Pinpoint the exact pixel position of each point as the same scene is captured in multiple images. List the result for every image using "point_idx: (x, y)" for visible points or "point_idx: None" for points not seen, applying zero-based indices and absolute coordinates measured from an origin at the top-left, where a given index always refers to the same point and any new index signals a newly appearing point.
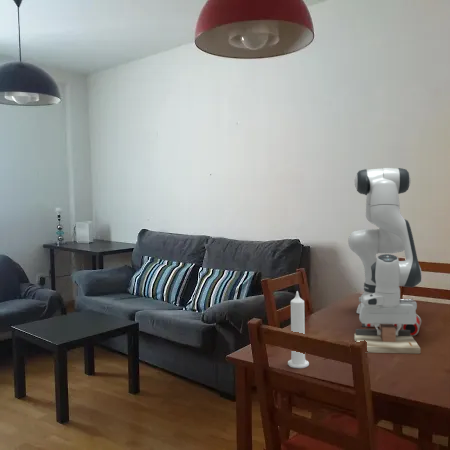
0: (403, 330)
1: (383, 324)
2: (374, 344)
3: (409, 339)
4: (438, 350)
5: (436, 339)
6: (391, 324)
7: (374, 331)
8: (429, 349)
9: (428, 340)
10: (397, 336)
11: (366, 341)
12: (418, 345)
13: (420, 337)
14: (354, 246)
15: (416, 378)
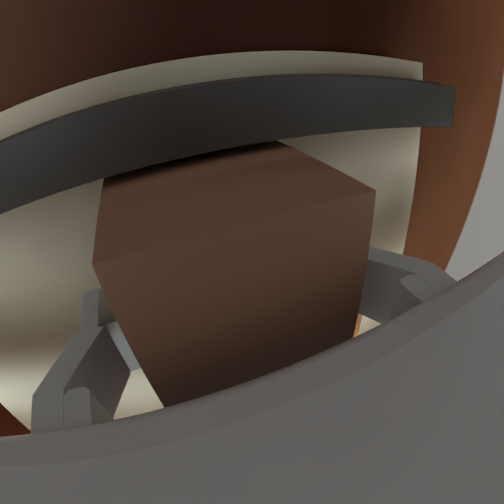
0: (413, 111)
1: (194, 343)
2: (117, 409)
3: (386, 210)
4: (442, 245)
5: (485, 67)
6: (343, 286)
7: (27, 200)
8: (420, 245)
9: (461, 82)
10: (315, 140)
11: (41, 379)
12: None
13: (440, 18)
14: None
15: None
